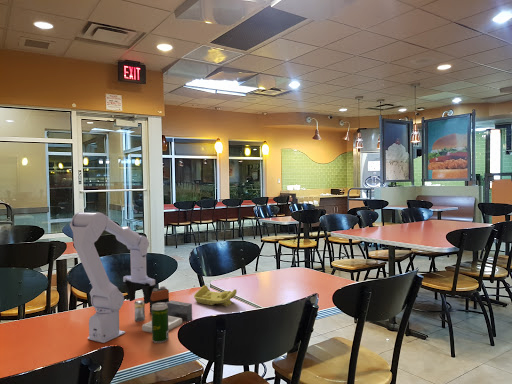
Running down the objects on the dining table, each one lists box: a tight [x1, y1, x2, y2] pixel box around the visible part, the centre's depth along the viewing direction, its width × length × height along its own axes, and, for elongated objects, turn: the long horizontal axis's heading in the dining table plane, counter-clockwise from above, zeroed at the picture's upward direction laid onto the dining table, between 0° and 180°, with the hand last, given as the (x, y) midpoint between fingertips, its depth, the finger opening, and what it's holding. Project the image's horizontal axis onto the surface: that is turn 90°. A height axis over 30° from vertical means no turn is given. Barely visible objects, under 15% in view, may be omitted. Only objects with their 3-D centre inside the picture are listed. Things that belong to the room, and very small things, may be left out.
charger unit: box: [166, 300, 193, 323], centre depth 149 cm, size 3×10×6 cm, turn 63°
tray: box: [141, 316, 183, 334], centre depth 140 cm, size 12×9×2 cm
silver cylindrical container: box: [134, 299, 146, 322], centre depth 148 cm, size 4×4×7 cm
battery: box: [149, 285, 170, 314], centre depth 156 cm, size 4×7×10 cm, turn 126°
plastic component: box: [193, 284, 237, 307], centre depth 167 cm, size 20×7×10 cm
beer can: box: [151, 302, 170, 344], centre depth 128 cm, size 5×5×12 cm
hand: (139, 301), depth 148 cm, fingers open, 7 cm apart
